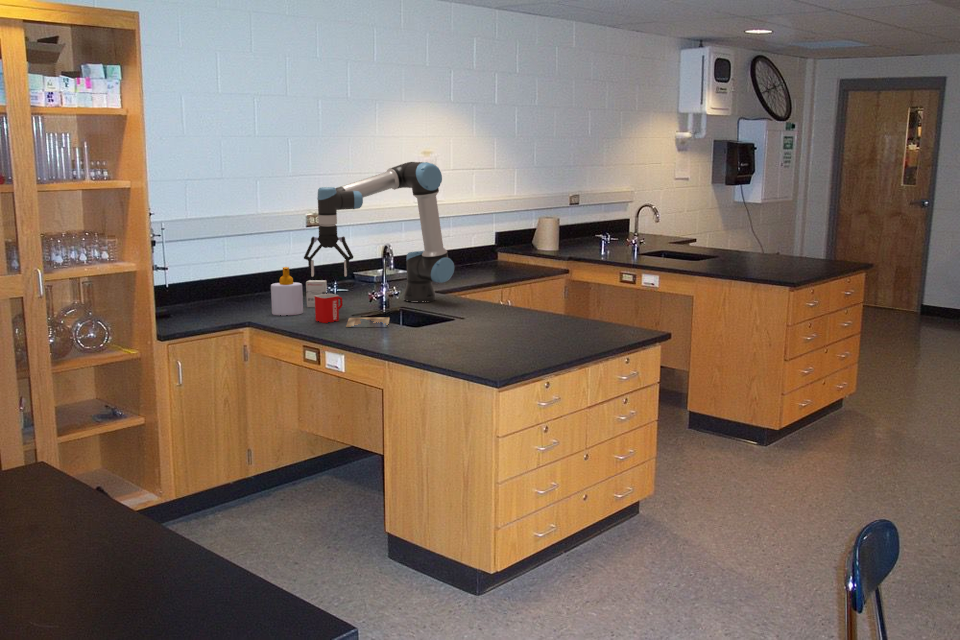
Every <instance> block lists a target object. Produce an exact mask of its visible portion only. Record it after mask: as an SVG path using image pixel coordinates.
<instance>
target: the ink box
mask: <svg viewBox="0 0 960 640" xmlns="http://www.w3.org/2000/svg"><path fill="white" fill-rule="evenodd" d="M327 282H328V281H327V280H326V279H325V280H323V279H321V280H316V279H315V280H313V279H312V280H311V279H309V280H307V281H306V282H305V290H306V291H305V293H306V294H305V295H306V307H307V308H315V297H314V296H315V295H321V294H326V291H327V292H328V289H327V288H328V286H327V285H328V284H327Z"/></svg>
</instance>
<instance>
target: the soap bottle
mask: <svg viewBox="0 0 960 640" xmlns="http://www.w3.org/2000/svg"><path fill="white" fill-rule="evenodd" d="M270 293H271V294H270V298H271V313H272V315H273V316H280V315H281V316H286V315H288V316H299V315H302V314H303V313H304V304H303V303H304V302H303V301H304V297H303V294H304V293H303V283H300V282H294V278H293V277H292V276H291V275H290V267H289V266H285V267H284V266H283V267H282V276H280V278H279V282H275V283H272V284H270ZM281 316H280V317H281Z"/></svg>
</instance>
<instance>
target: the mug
mask: <svg viewBox="0 0 960 640" xmlns="http://www.w3.org/2000/svg"><path fill="white" fill-rule="evenodd" d="M314 297H315V307H314V311H315V313H314V315H315V322H318V321H319V322H318V323H323V324H329V323H328V322H330V323H335V322H334V321H336V322H339V321H340V314H339V312H340V309H341V308H342V307H343V297H341V296H340V295H338V294H333V293H327V294H321V295H315V296H314Z"/></svg>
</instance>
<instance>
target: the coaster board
mask: <svg viewBox="0 0 960 640" xmlns="http://www.w3.org/2000/svg"><path fill="white" fill-rule="evenodd" d="M360 319H366V320H371V321H374V322H373V323H376V322H377V323H378V322H379V323H380V322H383V324H384V323H386V325H388V324H390V319H391V318H390V316H388V317H387V316H386V317H384V316H383V317H348V320H347V322H346V325H345V328H346V327H351V326H354V325H358V324H361V321H360ZM388 326H389V325H388Z"/></svg>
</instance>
